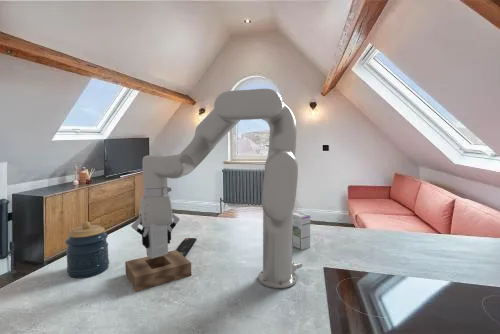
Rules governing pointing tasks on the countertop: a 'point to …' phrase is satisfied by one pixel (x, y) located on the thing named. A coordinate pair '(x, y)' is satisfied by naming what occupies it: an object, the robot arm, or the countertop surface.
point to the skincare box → (157, 241)
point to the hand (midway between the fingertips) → (157, 244)
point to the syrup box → (301, 230)
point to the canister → (87, 251)
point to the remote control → (186, 246)
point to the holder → (157, 270)
